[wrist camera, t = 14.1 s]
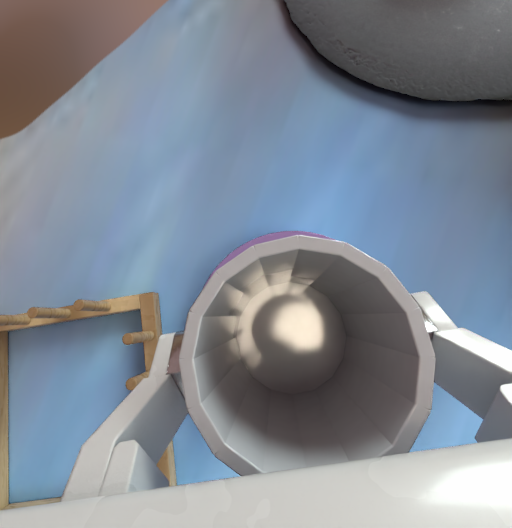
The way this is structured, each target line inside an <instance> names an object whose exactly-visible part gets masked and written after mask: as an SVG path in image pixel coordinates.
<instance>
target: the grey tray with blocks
mask: <svg viewBox="0 0 512 528" xmlns="http://www.w3.org/2000/svg"><path fill="white" fill-rule="evenodd" d="M284 1H285V2H286V3H287V5H286V6H287V7H288V10H290V11H291V12H289V13H290V14H289V15H291V19H292V20H293V22H294V23H295V24H296V25H297V26H298V28H299V29H300V30H301V31H302V33H303V34H305V35H306V36H308V38H309V40H311V43H312V44H313V45H314V48H316V49H317V51H318V52H319V53H320V54H322V55H323V56H325V57H326V58H327V60H329V61H330V62H333V63H334V64H335V65H337V66H338V67H340V68H341V69H344V70H346V71H347V72H349V73H350V74H352V75H354V76H355V77H358V78H359V79H361V80H365V81H367V82H369V83H371V84H374V85H375V86H378V87H383V88H385V89H389V90H392V91H397V92H401V93H402V94H408V95H410V96H416V97H419V98H422V99H424V100H426V99H429V100H432V101H435V100H437V101H438V100H441V99H443V100H448V101H473V100H476V99H491V100H492V99H494V100H502V99H503V98H504V99H505V100H512V0H284Z"/></svg>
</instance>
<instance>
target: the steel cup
mask: <svg viewBox="0 0 512 528" xmlns="http://www.w3.org/2000/svg"><path fill="white" fill-rule="evenodd" d="M435 361H436V358H435V353H434V350H433V347H432V343H431V340H430V337H429V334H428V331H427V328H426V324H425V321H424V318H423V315H422V312H421V308H420V307H419V305H418V304H417V302H416V301H415V300H414V299H413V297H412V296H411V295H410V294H409V292H408V291H407V290H406V289H405V287H404V286H403V285H402V284H401V282H400V281H399V280H398V279H397V277H396V276H395V275H394V274H393V272H392V271H391V270H390V269H389V268H388V267H387V266H386V265H384V264H382V263H381V262H379V261H377V260H376V259H374V258H372V257H370V256H369V255H367V254H365V253H363V252H362V251H360V250H358V249H357V248H355V247H353V246H351V245H350V244H348V243H344V242H343V241H337V240H330V239H324V238H317V237H311V236H304V235H294V236H290V237H285V238H281V239H277V240H272V241H268V242H263V243H259V244H255V245H253V246H251V247H249V248H248V249H246V250H245V251H243V252H242V253H241V254H239V255H238V256H236V257H235V258H233V259H232V260H230V261H229V262H228V263H226V264H225V265H223V266H222V267H220V268H219V269H217V270H216V272H214V273H213V275H212V276H211V278H210V279H209V281H208V282H207V284H206V285H205V287H204V288H203V290H202V292H201V293H200V295H199V296H198V298H197V299H196V301H195V302H194V304H193V305H192V307H191V308H190V310H189V312H188V316H187V321H186V326H185V330H184V335H183V340H182V345H181V349H180V354H179V366H180V372H181V378H182V384H183V390H184V396H185V403H186V408H187V409H188V410H187V411H188V413H189V415H190V416H191V418H192V420H193V421H194V423H195V425H196V426H197V428H198V430H199V431H200V433H201V435H202V436H203V438H204V440H205V442H206V443H207V445H208V447H209V448H210V450H211V452H212V453H213V454H215V457H216V458H218V459H219V460H220V461H222V462H223V463H224V464H226V465H227V466H228V467H230V468H231V469H232V470H234V471H235V472H236V473H238V474H239V475H240V476H247V475H254V474H261V473H268V472H275V471H282V470H289V469H296V468H303V467H310V466H317V465H324V464H332V463H339V462H346V461H353V460H360V459H367V458H374V457H381V456H388V455H395V454H402V453H409V451H410V449H411V447H412V446H413V444H414V442H415V440H416V438H417V436H418V434H419V433H420V431H421V429H422V427H423V425H424V423H425V422H426V420H427V418H428V416H429V414H430V410H431V409H432V397H433V385H434V373H435Z"/></svg>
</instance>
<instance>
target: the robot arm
mask: <svg viewBox="0 0 512 528" xmlns="http://www.w3.org/2000/svg"><path fill="white" fill-rule="evenodd" d="M410 295H411V296H412V297H413V299H414V300H415V301H416V302H417V304H418V305H419V307H420V308H421V312H422V315H423V318H424V321H425V324H426V328H427V331H428V334H429V337H430V340H431V343H432V347H433V350H434V353H435V358H436V361H435V373H434V382H435V383H436V384H437V385H439V386H440V387H441V388H443V389H444V390H445V391H447V392H448V393H449V394H451V395H452V396H453V397H455V398H456V399H457V400H458V401H460V402H461V403H462V404H464V405H465V406H466V407H468V408H469V409H470V410H472V411H473V412H474V413H476V414H477V415H478V416H480V417H481V418H482V419H483V422H482V424H481V426H480V428H479V430H478V432H477V434H476V436H475V439H476V441H477V442H478V443H473V444H466V445H459V446H452V447H445V448H438V449H431V450H423V451H416V452H409V453H402V454H395V455H388V456H381V457H374V458H367V459H360V460H353V461H346V462H339V463H332V464H324V465H317V466H310V467H303V468H296V469H289V470H282V471H275V472H268V473H261V474H254V475H247V476H240V477H233V478H226V479H219V480H212V481H205V482H197V483H190V484H183V485H176V486H169V480H168V479H167V478H166V476H165V475H164V474H163V473H162V472H161V470H160V469H159V468H158V467H157V466H156V465H157V463H158V462H159V460H160V458H161V457H162V455H163V453H164V452H165V450H166V448H167V447H168V445H169V443H170V442H171V440H172V438H173V437H174V435H175V433H176V432H177V430H178V429H179V427H180V425H181V424H182V422H183V420H184V419H185V417H186V415H187V414H188V411H187V410H188V409H187V408H186V403H185V396H184V390H183V384H182V378H181V372H180V366H179V354H180V349H181V345H182V340H183V335H184V331H181V332H176V333H168V334H162V335H161V336H160V337H159V339H158V343H157V346H156V350H155V354H154V358H153V361H152V365H151V369H150V372H149V376H148V378H143V380H142V381H141V382H140V383H139V384H138V385H137V386H136V387H135V388H134V389H133V390H132V392H131V393H130V394H129V395H128V396H127V397H126V398H125V399H124V400H123V401H122V402H121V404H120V405H119V406H118V407H117V408H116V409H115V410H114V411H113V412H112V413H111V414H110V416H109V417H108V418H107V419H106V420H105V421H104V422H103V423H102V424H101V425H100V426H99V428H98V429H97V430H96V431H95V432H94V433H93V434H92V435H91V436H90V437H89V438H88V440H87V441H86V442H85V443H84V444H83V445H82V446H81V449H80V451H79V454H78V456H77V459H76V462H75V464H74V467H73V469H72V472H71V474H70V477H69V479H68V482H67V484H66V487H65V490H64V492H63V495H62V497H61V500H60V502H57V503H50V504H43V505H36V506H29V507H21V508H14V509H7V510H0V528H512V351H511V350H509V349H507V348H505V347H502V346H500V345H498V344H496V343H494V342H492V341H490V340H488V339H486V338H484V337H482V336H479V335H477V334H475V333H473V332H471V331H469V330H467V329H465V328H457V327H456V325H455V324H454V323H453V322H452V321H451V319H450V318H449V317H448V316H447V315H446V313H445V312H444V311H443V310H442V309H441V308H440V306H439V305H438V304H437V303H436V302H435V300H434V299H433V298H432V297H431V296H430V294H429V293H427V292H425V291H423V292H417V293H412V294H410Z"/></svg>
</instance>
